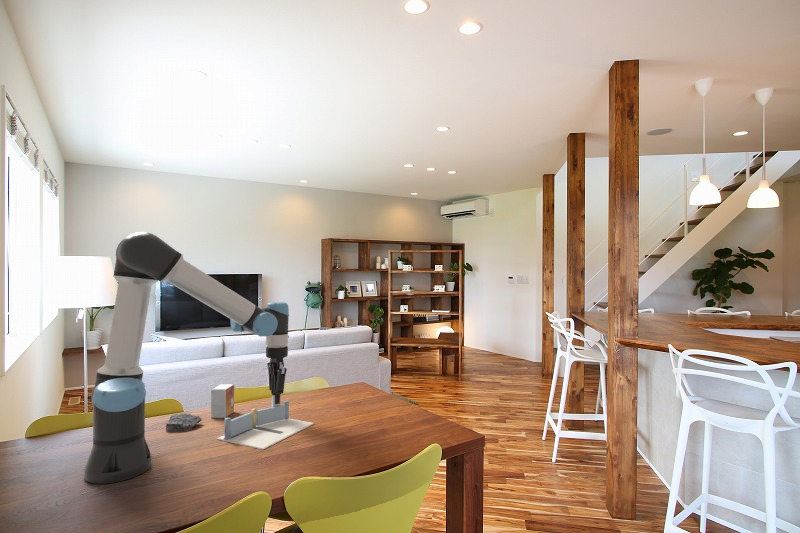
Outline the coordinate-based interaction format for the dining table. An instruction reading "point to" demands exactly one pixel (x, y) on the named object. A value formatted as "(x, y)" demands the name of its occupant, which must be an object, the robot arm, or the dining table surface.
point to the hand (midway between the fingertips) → (275, 412)
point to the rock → (182, 422)
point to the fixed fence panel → (237, 425)
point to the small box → (222, 401)
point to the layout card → (268, 433)
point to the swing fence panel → (270, 414)
